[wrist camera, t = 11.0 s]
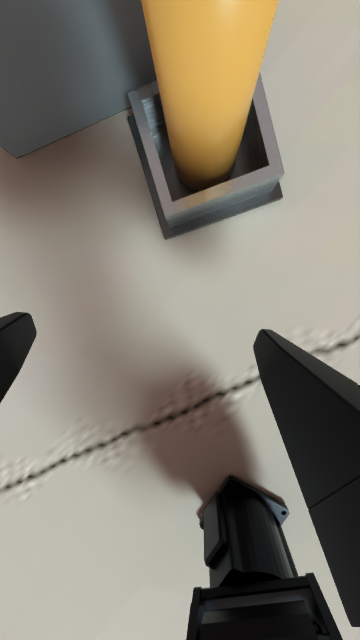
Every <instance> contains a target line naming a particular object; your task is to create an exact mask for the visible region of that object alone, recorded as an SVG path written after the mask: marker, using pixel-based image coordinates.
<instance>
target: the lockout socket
mask: <svg viewBox="0 0 360 640" xmlns="http://www.w3.org/2000/svg"><path fill="white" fill-rule="evenodd" d="M128 96H129V99H130V103H131V106H132V109H133V113H134V115H133V116H130V117H128V120H129V123H130V127H131V130H132V133H133V137H134V140H135V143H136V146H137V150H138V153H139V156H140V159H141V163H142V166H143V169H144V173H145V176H146V179H147V182H148V186H149V189H150V192H151V195H152V199H153V202H154V205H155V209H156V212H157V215H158V218H159V222H160V225H161V228H162V231H163V235H164V238H165V240H167V239H170V238H172V237H175V236H178V235H181V234H184V233H187V232H189V231H192V230H195V229H198V228H201V227H203V226H206V225H209V224H212V223H215V222H218V221H220V220H223V219H226V218H229V217H232V216H235V215H237V214H240V213H243V212H246V211H249V210H252V209H254V208H257V207H260V206H263V205H266V204H269V203H271V202H274V201H277V200H280V199H281V198H282V197H283V195H282V191H281V187H280V183H279V180H280V179H281V177H282V176H283V174H284V169H283V165H282V161H281V157H280V153H279V148H278V144H277V140H276V136H275V132H274V128H273V124H272V120H271V116H270V112H269V108H268V104H267V100H266V95H265V91H264V87H263V83H262V79H261V75H260V72H259V76H258V79H257V83H256V87H255V91H254V94H253V98H252V102H251V106H250V109H249V113H248V117H247V121H246V124H245V128H244V132H243V136H242V139H241V143H240V147H239V151H238V154H237V158H236V162H235V166H234V168H233V171H232V173H231V174H230V176H229V177H228V179H227V180H226V181H225V182H224V183H221V184H219V185H216V186H213V187H211V188H208V189H205V190H203V191H199V190H194V189H192V188H190V187H188V186H186V185H185V184H184V183H183V182H182V181H181V180H180V178H179V177H178V175H177V173H176V170H175V167H174V162H173V157H172V152H171V147H170V142H169V137H168V132H167V127H166V122H165V117H164V112H163V107H162V102H161V97H160V92H159V87H158V82H157V80H156V81H153V82H151V83H149V84H147V85H145V86H143V87H140V88H138V89H136V90H134V91H132V92H130V93H128Z"/></svg>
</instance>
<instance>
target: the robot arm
mask: <svg viewBox="0 0 360 640" xmlns="http://www.w3.org/2000/svg"><path fill="white" fill-rule="evenodd" d="M36 333H37V332H36V328H35V325H34V322H33V319H32V316H31V315H30V314H29V313H24V312H15V313H12V314H9V315H7V316H4V317H1V318H0V403H1V401H2V400H3V398H4V396H5V395H6V393H7V391H8V390H9V388H10V387H11V385H12V383H13V382H14V380H15V378H16V377H17V375H18V373H19V371H20V369H21V368H22V366H23V363H24V361H25V359H26V357H27V355H28V353H29V350H30V348H31V346H32V344H33V342H34V340H35V338H36ZM253 349H254V354H255V358H256V362H257V366H258V370H259V374H260V378H261V381H262V384H263V387H264V390H265V393H266V395H267V398H268V401H269V404H270V406H271V409H272V412H273V415H274V417H275V420H276V423H277V425H278V428H279V431H280V434H281V436H282V439H283V442H284V445H285V447H286V450H287V453H288V456H289V458H290V461H291V464H292V467H293V469H294V472H295V475H296V478H297V480H298V483H299V486H300V488H301V491H302V494H303V497H304V499H305V502H306V505H307V508H308V509H309V510H308V511H309V514H310V516H311V519H312V522H313V525H314V527H315V530H316V533H317V535H318V538H319V541H320V544H321V546H322V549H323V552H324V555H325V557H326V560H327V563H328V566H329V568H330V571H331V574H332V577H333V579H334V582H335V585H336V587H337V590H338V593H339V596H340V598H341V601H342V604H343V607H344V609H345V612H346V615H347V617H348V619H349V622H350V624H351V626H352V627H360V385H358V384H357V383H356V382H354V381H352V380H351V379H349V378H348V377H346V376H344V375H343V374H341V373H340V372H338V371H336V370H335V369H333V368H332V367H330V366H328V365H327V364H325V363H323V362H322V361H320V360H319V359H317V358H315V357H314V356H312V355H311V354H309V353H307V352H306V351H304V350H303V349H301V348H299V347H298V346H296V345H295V344H293V343H291V342H290V341H288V340H287V339H285V338H283V337H282V336H280V335H279V334H277V333H275V332H274V331H272V330H269V329H261V330H260V331H259V333H258V335H257V337H256V340H255V342H254V345H253ZM230 482H233V483H230ZM288 515H289V511H288V508H287V506H286V505H284V504H283V503H281V502H279V501H277V500H275V499H274V498H272V497H270V496H268V495H266V494H265V493H263V492H261V491H259V490H257V489H256V488H254V487H252V486H250V485H248V484H247V483H245V482H243V481H241V480H239V479H238V478H236V477H234V476H229V477H228V478H227V479H226V480H225V482H224V483H223V485H222V486H221V488H220V490H219V491H218V492H217V493H216V494H215V495H214V496H213V498H212V499H211V501H210V502H209V504H208V505H207V507H206V508H205V510H204V514H203V515H202V517H201V518H200V527H201V528H202V529H203V530H204V561H205V565H206V566H208V567H209V575H210V588H201V587H195V588H194V590H193V598H192V603H191V607H190V615H189V622H188V630H187V638H186V640H343V639H342V637H341V634H340V632H339V630H338V628H337V625H336V623H335V621H334V619H333V616H332V614H331V612H330V609H329V607H328V605H327V603H326V600H325V598H324V596H323V594H322V591H321V589H320V587H319V585H318V582H317V580H316V578H315V576H314V573H306V576H298V573H297V571H296V568H295V565H294V562H293V559H292V556H291V553H290V551H289V548H288V545H287V542H286V539H285V536H284V533H283V530H282V528H281V525H282V523H283V522H284V521H285V519H286V518H287V517H288Z"/></svg>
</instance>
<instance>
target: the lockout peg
mask: <svg viewBox="0 0 360 640" xmlns="http://www.w3.org/2000/svg"><path fill="white" fill-rule="evenodd" d="M278 1H279V0H141V2H142V7H143V12H144V17H145V22H146V27H147V32H148V37H149V42H150V47H151V52H152V57H153V62H154V67H155V72H156V77H157V82H158V87H159V92H160V97H161V102H162V107H163V112H164V117H165V122H166V127H167V132H168V137H169V142H170V147H171V152H172V157H173V162H174V167H175V170H176V173H177V175H178V177H179V178H180V180H181V181H182V182H183V183H184V184H185V185H186V186H188V187H190V188H192V189H194V190H199V191H203V190H205V189H208V188H211V187H213V186H216V185H219V184H221V183H224V182H225V181H226V180H227V179H228V177H229V176H230V174H231V173H232V171H233V168H234V166H235V162H236V158H237V154H238V151H239V147H240V143H241V139H242V136H243V132H244V128H245V124H246V121H247V117H248V113H249V109H250V106H251V102H252V98H253V94H254V91H255V87H256V83H257V79H258V76H259V72H260V68H261V64H262V61H263V57H264V53H265V49H266V46H267V42H268V38H269V34H270V31H271V27H272V23H273V19H274V16H275V12H276V8H277V4H278Z"/></svg>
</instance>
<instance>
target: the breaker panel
mask: <svg viewBox="0 0 360 640" xmlns="http://www.w3.org/2000/svg"><path fill="white" fill-rule="evenodd" d="M156 80H157V77H156V72H155V67H154V62H153V57H152V52H151V47H150V42H149V37H148V32H147V27H146V22H145V17H144V12H143V7H142V2H141V0H0V146H1V147H2V148H3V149H5V150H6V151H7V152H9V153H10V154H11V155H13V156H14V157H15V158H19V157H21V156H23V155H25V154H28V153H30V152H32V151H34V150H37V149H39V148H41V147H43V146H45V145H48V144H50V143H52V142H54V141H56V140H59V139H61V138H63V137H65V136H68V135H70V134H72V133H74V132H76V131H79V130H81V129H83V128H85V127H87V126H90V125H92V124H94V123H96V122H99V121H101V120H103V119H105V118H107V117H110V116H112V115H114V114H116V113H118V112H121V111H123V110H125V109H127V108H130V107H132V106H131V103H130V99H129V96H128V93H130V92H132V91H134V90H136V89H138V88H140V87H143V86H145V85H147V84H149V83H151V82H153V81H156Z"/></svg>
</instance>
